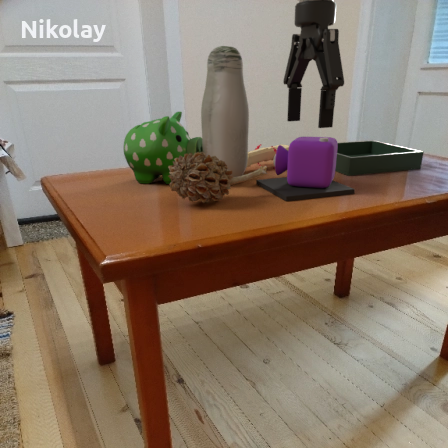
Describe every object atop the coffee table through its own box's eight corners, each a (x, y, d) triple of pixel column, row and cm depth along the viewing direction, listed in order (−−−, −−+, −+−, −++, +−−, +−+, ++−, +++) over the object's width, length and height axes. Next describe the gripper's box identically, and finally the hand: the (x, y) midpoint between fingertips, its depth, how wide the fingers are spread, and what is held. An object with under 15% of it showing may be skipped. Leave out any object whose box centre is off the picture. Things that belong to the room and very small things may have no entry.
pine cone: (181, 214, 82) (178, 159, 77) (161, 202, 89) (157, 151, 84) (277, 197, 91) (279, 147, 87) (252, 188, 99) (253, 141, 94)
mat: (354, 193, 93) (355, 189, 92) (286, 201, 88) (286, 196, 88) (317, 178, 106) (317, 173, 106) (255, 184, 102) (256, 179, 101)
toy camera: (273, 177, 103) (275, 132, 98) (333, 178, 101) (337, 132, 96) (271, 189, 93) (272, 139, 89) (336, 190, 92) (342, 139, 87)
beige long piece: (239, 183, 108) (306, 161, 121) (237, 146, 103) (306, 127, 116) (213, 177, 114) (279, 156, 128) (210, 142, 110) (279, 124, 123)
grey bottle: (233, 189, 97) (232, 44, 84) (196, 184, 102) (189, 46, 89) (255, 180, 105) (257, 45, 92) (219, 176, 110) (216, 47, 97)
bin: (420, 168, 114) (423, 151, 112) (348, 175, 108) (350, 157, 106) (370, 155, 132) (372, 140, 130) (306, 160, 126) (307, 145, 124)
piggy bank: (194, 188, 99) (191, 116, 92) (118, 186, 102) (109, 117, 95) (207, 174, 112) (204, 110, 105) (138, 173, 114) (132, 111, 107)
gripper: (269, 9, 91) (267, 119, 100) (333, -10, 70) (323, 132, 80) (302, 9, 93) (297, 117, 103) (374, -9, 72) (358, 129, 82)
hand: (308, 124), depth 91 cm, fingers open, 13 cm apart
